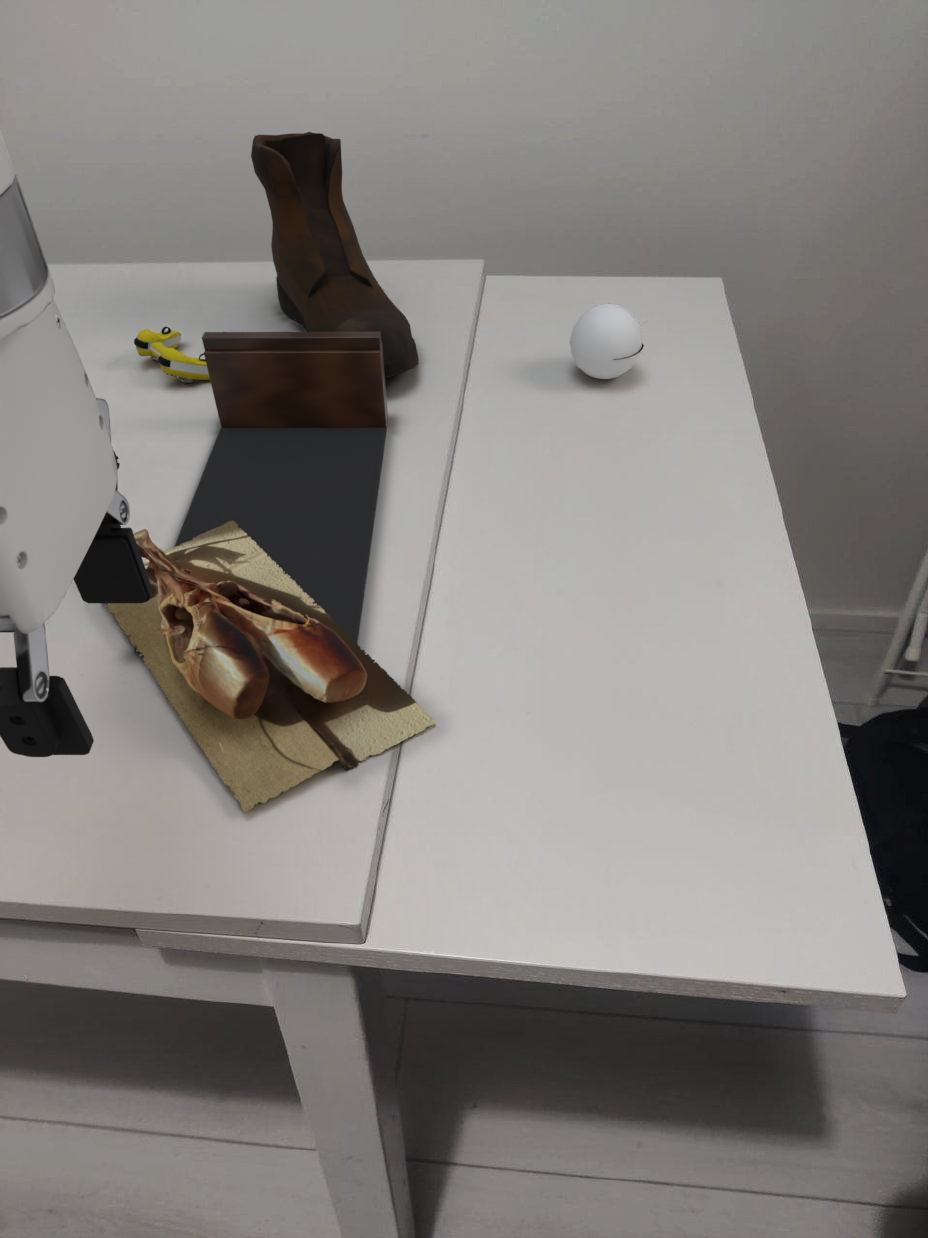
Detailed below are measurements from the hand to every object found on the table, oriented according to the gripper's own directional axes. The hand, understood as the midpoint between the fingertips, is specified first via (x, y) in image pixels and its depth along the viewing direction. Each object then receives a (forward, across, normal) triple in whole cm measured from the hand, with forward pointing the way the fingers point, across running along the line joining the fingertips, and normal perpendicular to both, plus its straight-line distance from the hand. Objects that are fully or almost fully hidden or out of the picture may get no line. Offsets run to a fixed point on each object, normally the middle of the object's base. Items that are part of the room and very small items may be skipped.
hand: (88, 666), depth 38 cm
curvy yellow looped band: (+18, -60, -15) cm, 64 cm away
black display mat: (+18, -33, 0) cm, 37 cm away
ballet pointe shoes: (+18, -18, 0) cm, 25 cm away
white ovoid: (+18, -59, +31) cm, 69 cm away
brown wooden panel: (+18, -49, 0) cm, 52 cm away
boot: (+18, -67, +2) cm, 69 cm away
